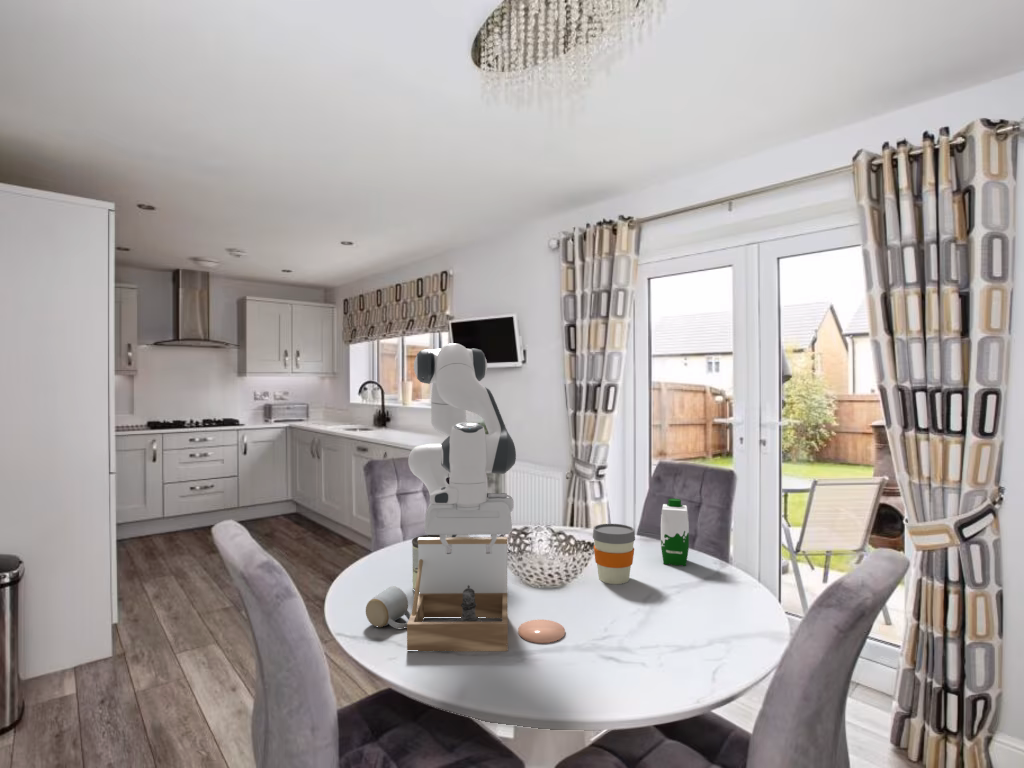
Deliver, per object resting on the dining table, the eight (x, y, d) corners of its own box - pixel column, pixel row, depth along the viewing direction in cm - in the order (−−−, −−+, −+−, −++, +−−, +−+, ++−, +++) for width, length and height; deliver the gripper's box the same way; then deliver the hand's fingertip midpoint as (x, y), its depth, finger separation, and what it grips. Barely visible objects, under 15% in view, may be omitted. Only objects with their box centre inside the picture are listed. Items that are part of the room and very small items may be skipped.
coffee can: (417, 581, 163) (417, 533, 163) (451, 582, 162) (451, 534, 162) (407, 594, 152) (407, 544, 152) (443, 596, 151) (443, 545, 151)
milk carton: (688, 558, 183) (688, 498, 183) (689, 567, 174) (688, 504, 174) (661, 556, 186) (661, 497, 185) (660, 565, 177) (660, 503, 177)
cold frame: (419, 616, 138) (419, 592, 138) (507, 616, 138) (507, 592, 138) (407, 651, 120) (407, 624, 120) (507, 651, 120) (507, 623, 120)
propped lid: (420, 594, 138) (420, 534, 138) (507, 593, 139) (507, 534, 139) (410, 617, 125) (410, 551, 124) (507, 617, 125) (507, 551, 125)
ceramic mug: (362, 626, 133) (363, 594, 133) (384, 613, 140) (384, 583, 140) (398, 635, 128) (398, 602, 128) (418, 621, 136) (419, 590, 136)
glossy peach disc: (517, 622, 135) (517, 619, 135) (562, 621, 135) (562, 619, 135) (518, 643, 124) (518, 640, 124) (567, 643, 124) (567, 640, 124)
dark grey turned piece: (468, 628, 131) (468, 578, 131) (486, 635, 128) (486, 584, 128) (450, 637, 127) (450, 585, 127) (469, 645, 123) (469, 591, 123)
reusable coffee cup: (639, 586, 158) (639, 534, 158) (595, 586, 158) (595, 534, 158) (630, 571, 171) (630, 523, 171) (590, 571, 171) (590, 523, 171)
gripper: (513, 490, 130) (513, 548, 130) (426, 490, 130) (427, 549, 130) (513, 495, 124) (513, 557, 124) (422, 496, 124) (423, 557, 124)
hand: (468, 553), depth 127 cm, fingers open, 8 cm apart
